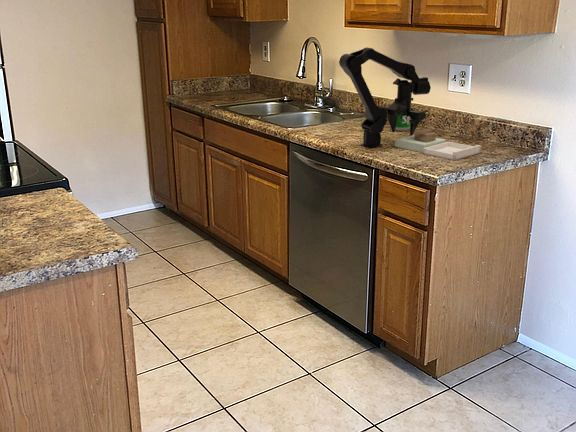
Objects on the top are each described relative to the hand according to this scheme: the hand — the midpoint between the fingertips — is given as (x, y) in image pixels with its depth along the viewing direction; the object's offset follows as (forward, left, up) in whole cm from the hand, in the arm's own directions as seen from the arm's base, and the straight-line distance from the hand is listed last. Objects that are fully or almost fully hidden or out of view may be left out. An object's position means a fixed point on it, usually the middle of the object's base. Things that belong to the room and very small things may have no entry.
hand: (402, 133), depth 251 cm
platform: (+9, 0, -4) cm, 10 cm away
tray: (+24, 0, -4) cm, 24 cm away
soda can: (-17, +21, -4) cm, 27 cm away
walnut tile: (+11, 0, -1) cm, 11 cm away
